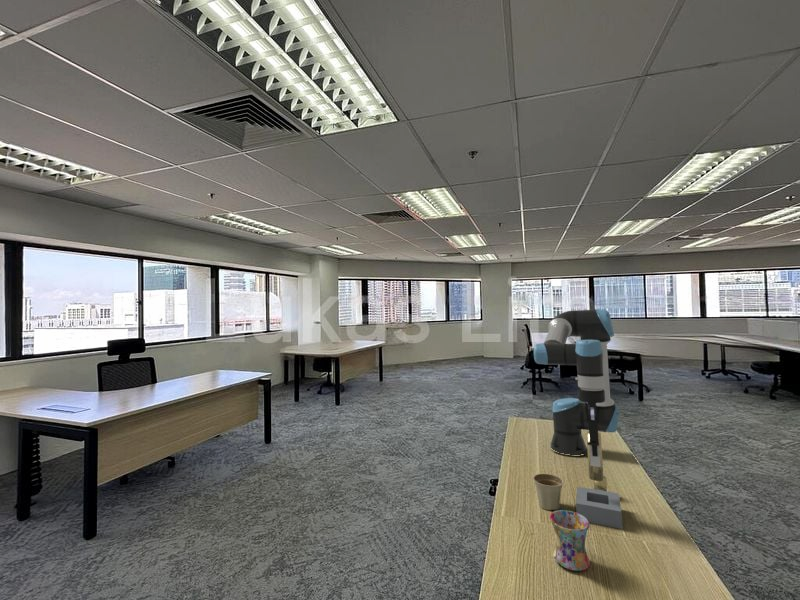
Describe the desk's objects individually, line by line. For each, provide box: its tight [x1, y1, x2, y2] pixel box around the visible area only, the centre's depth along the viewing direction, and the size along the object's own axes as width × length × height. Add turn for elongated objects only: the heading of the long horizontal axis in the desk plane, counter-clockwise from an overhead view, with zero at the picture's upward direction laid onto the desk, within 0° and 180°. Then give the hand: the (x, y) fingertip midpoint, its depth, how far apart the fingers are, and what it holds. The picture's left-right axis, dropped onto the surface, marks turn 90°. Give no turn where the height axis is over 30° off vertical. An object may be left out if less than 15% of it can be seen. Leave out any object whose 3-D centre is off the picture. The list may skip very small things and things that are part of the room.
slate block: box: [575, 486, 623, 530], centre depth 114 cm, size 12×12×5 cm
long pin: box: [586, 430, 604, 482], centre depth 115 cm, size 4×4×14 cm
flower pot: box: [532, 472, 564, 511], centre depth 120 cm, size 9×9×9 cm
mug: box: [549, 509, 591, 572], centre depth 94 cm, size 12×9×11 cm
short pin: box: [593, 475, 608, 491], centre depth 126 cm, size 4×4×6 cm
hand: (595, 462), depth 114 cm, fingers closed on long pin, 4 cm apart
